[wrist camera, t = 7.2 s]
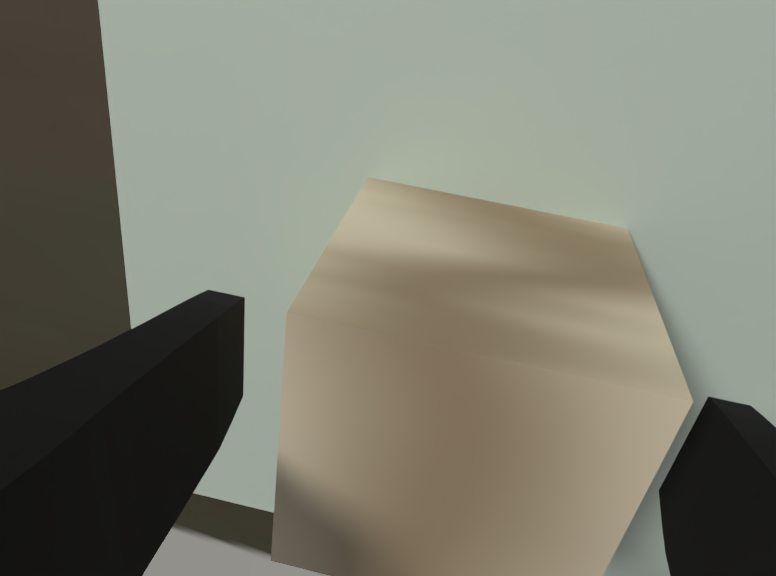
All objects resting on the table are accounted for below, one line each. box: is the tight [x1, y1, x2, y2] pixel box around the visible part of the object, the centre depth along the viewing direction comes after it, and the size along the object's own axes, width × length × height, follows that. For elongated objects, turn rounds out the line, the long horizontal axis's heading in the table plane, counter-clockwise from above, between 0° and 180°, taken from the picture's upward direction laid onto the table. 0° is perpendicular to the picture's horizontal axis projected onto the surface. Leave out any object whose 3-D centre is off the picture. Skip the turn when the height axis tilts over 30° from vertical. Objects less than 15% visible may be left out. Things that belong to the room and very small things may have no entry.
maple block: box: [271, 177, 693, 576], centre depth 10 cm, size 4×4×4 cm
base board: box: [98, 0, 776, 576], centre depth 13 cm, size 14×14×2 cm
